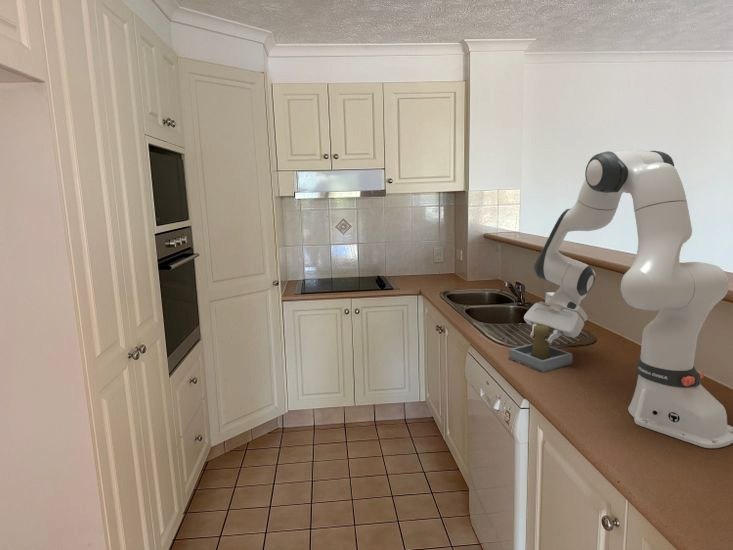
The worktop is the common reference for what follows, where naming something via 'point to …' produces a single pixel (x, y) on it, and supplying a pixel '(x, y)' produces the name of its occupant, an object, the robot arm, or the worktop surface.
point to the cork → (541, 342)
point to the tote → (524, 356)
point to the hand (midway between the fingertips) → (539, 339)
